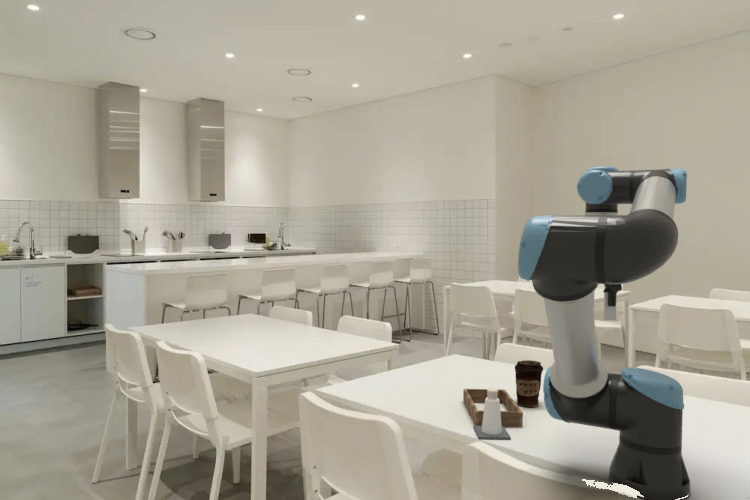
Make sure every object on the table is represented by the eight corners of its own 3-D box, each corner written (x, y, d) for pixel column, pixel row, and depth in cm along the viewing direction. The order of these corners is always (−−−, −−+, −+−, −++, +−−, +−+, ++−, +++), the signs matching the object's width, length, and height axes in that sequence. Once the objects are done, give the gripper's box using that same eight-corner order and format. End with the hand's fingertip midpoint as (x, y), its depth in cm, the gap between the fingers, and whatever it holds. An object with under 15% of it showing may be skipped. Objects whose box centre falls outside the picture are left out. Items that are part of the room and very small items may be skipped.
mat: (510, 439, 141) (510, 437, 141) (478, 439, 141) (478, 436, 141) (503, 428, 149) (503, 426, 149) (473, 427, 149) (473, 425, 149)
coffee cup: (543, 410, 164) (544, 366, 164) (514, 408, 166) (515, 364, 166) (540, 401, 173) (541, 359, 172) (513, 399, 175) (514, 358, 174)
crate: (522, 427, 150) (522, 412, 150) (475, 426, 150) (475, 411, 150) (504, 402, 171) (504, 389, 171) (463, 401, 171) (463, 388, 171)
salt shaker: (487, 426, 148) (488, 385, 148) (506, 431, 145) (507, 389, 144) (477, 431, 144) (478, 389, 144) (496, 436, 141) (497, 393, 140)
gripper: (639, 230, 126) (636, 324, 127) (596, 230, 151) (594, 308, 152) (606, 229, 126) (603, 323, 127) (568, 230, 151) (566, 308, 152)
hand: (598, 315), depth 139 cm, fingers open, 13 cm apart
